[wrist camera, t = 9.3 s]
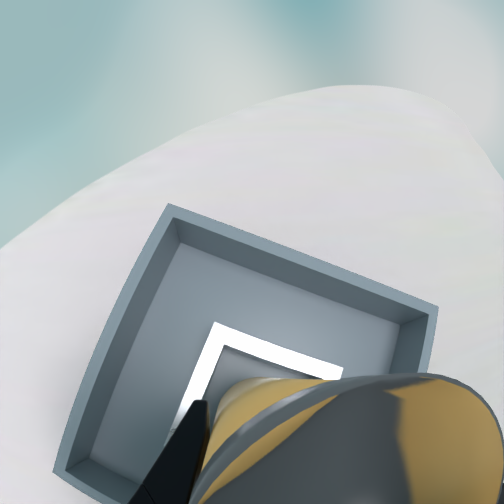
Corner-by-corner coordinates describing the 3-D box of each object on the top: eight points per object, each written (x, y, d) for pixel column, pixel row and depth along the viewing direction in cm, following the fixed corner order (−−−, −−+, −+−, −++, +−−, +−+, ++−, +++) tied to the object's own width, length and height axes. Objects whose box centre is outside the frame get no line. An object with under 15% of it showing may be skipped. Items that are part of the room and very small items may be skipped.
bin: (323, 538, 15) (344, 566, 10) (83, 457, 16) (52, 472, 12) (403, 320, 23) (438, 306, 18) (178, 235, 24) (168, 203, 19)
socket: (286, 474, 17) (296, 488, 14) (171, 436, 17) (163, 445, 14) (327, 369, 20) (343, 367, 17) (216, 329, 20) (214, 322, 18)
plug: (240, 469, 13) (282, 661, 1) (200, 398, 14) (98, 482, 2) (316, 431, 14) (516, 512, 2) (279, 361, 15) (450, 301, 3)
